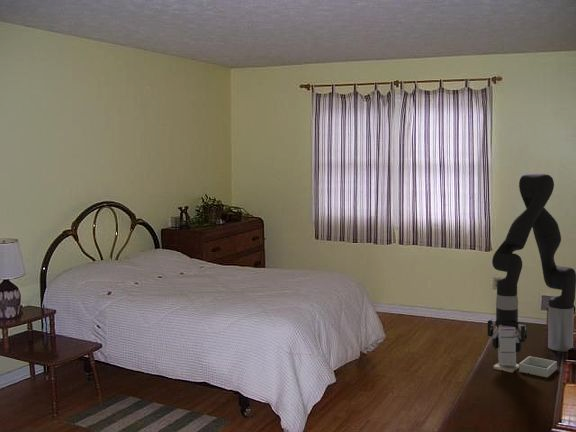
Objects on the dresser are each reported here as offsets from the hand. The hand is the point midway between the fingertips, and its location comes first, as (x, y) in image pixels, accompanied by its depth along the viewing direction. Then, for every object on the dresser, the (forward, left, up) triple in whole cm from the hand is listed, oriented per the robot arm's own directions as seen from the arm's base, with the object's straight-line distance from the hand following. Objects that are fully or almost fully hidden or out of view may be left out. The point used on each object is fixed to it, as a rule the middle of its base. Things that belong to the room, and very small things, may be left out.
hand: (506, 349), depth 225 cm
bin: (-4, +10, -7) cm, 13 cm away
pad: (0, 0, -7) cm, 7 cm away
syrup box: (0, 0, -5) cm, 5 cm away
